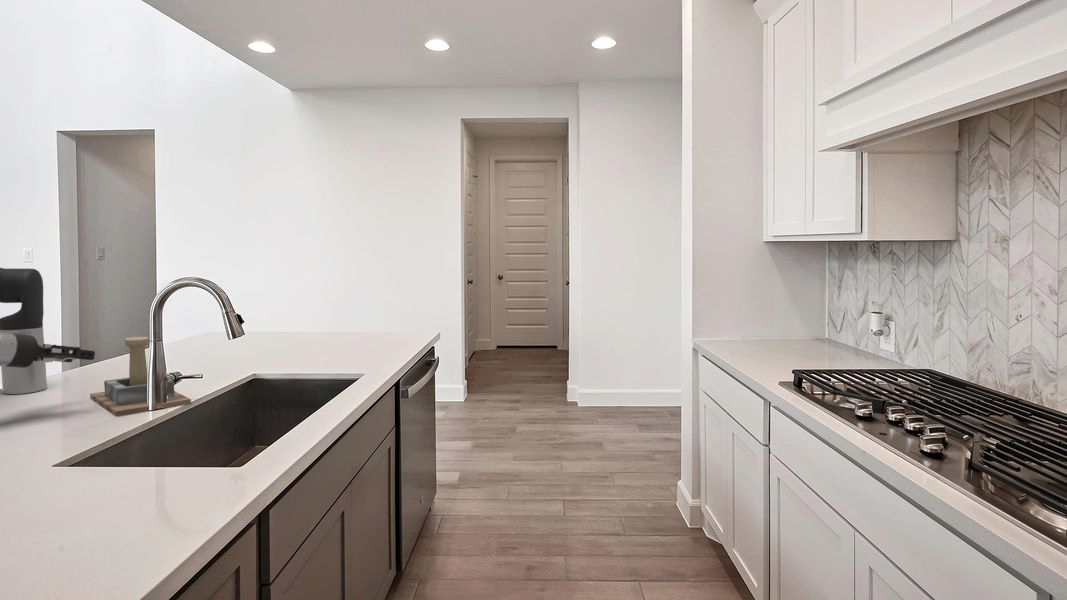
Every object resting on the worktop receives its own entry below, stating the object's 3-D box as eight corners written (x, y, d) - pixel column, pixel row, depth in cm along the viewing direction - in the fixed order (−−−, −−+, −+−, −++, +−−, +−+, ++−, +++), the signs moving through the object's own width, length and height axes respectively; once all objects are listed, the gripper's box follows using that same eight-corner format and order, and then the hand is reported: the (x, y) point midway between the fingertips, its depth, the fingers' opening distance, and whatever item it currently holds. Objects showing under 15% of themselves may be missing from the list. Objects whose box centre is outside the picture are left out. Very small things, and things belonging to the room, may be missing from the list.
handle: (126, 400, 151) (124, 340, 150) (128, 394, 156) (126, 337, 155) (149, 398, 153) (147, 339, 152) (150, 392, 159) (148, 336, 158)
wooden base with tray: (90, 398, 157) (89, 378, 157) (159, 387, 169) (158, 369, 169) (116, 416, 141) (115, 394, 141) (190, 403, 153) (190, 383, 153)
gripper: (26, 330, 133) (103, 339, 147) (-11, 335, 138) (67, 344, 153) (21, 364, 131) (99, 370, 146) (-17, 368, 136) (62, 373, 151)
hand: (82, 356), depth 149 cm, fingers open, 8 cm apart
